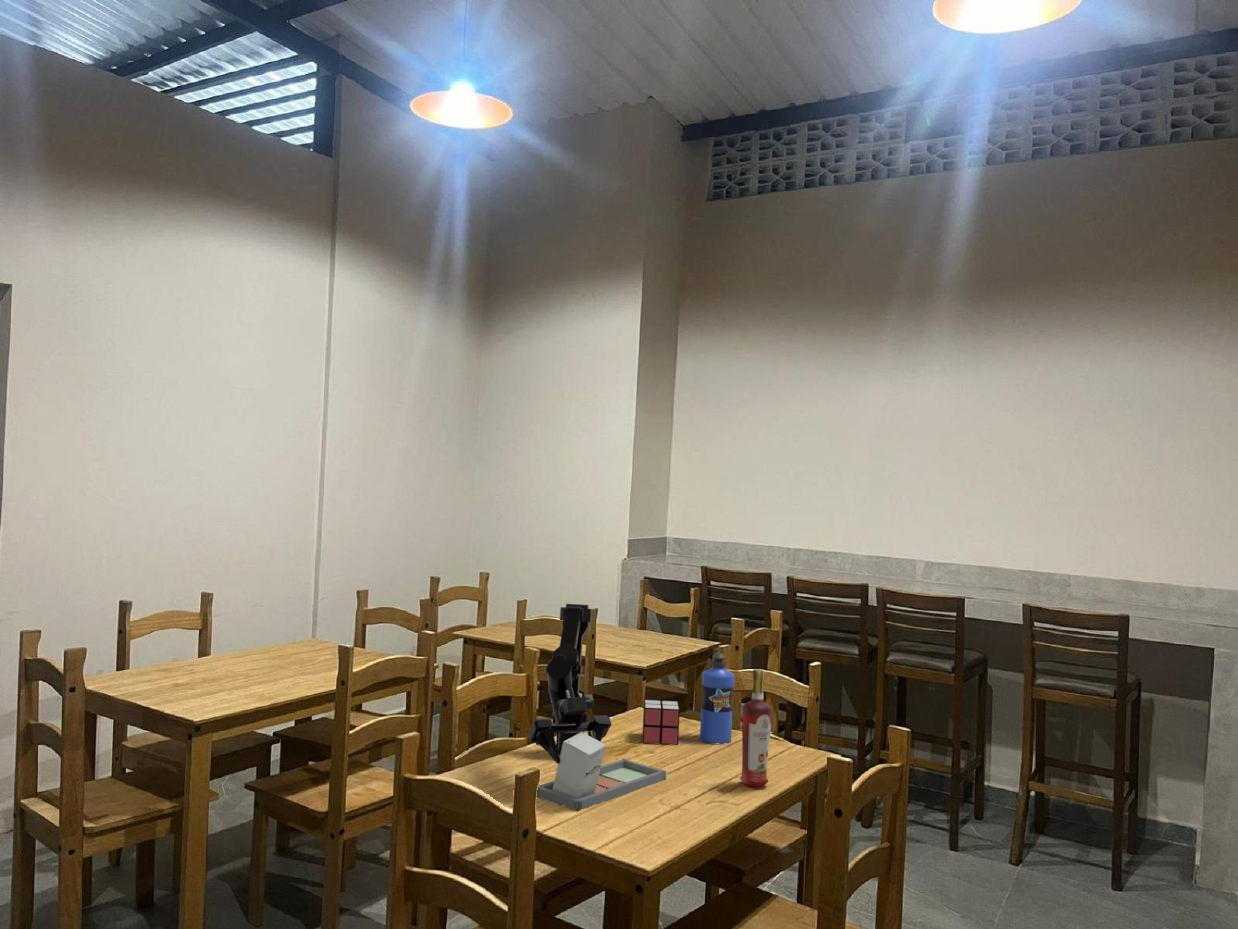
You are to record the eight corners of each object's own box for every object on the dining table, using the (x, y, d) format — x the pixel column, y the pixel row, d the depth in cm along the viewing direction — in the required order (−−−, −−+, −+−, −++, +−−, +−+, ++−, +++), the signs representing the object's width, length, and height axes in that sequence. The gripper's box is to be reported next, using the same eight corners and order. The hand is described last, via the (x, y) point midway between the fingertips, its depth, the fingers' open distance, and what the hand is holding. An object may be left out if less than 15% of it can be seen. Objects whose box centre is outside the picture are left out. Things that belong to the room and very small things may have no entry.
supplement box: (577, 806, 200) (588, 755, 197) (551, 790, 203) (562, 740, 201) (595, 794, 206) (607, 744, 203) (570, 779, 210) (581, 730, 207)
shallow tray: (534, 795, 205) (534, 787, 205) (623, 766, 230) (623, 759, 230) (578, 811, 196) (578, 802, 196) (665, 779, 221) (666, 771, 221)
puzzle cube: (678, 745, 252) (679, 709, 252) (642, 743, 252) (644, 707, 252) (676, 736, 262) (678, 701, 262) (642, 734, 262) (643, 699, 262)
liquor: (759, 779, 225) (764, 666, 226) (774, 788, 218) (779, 672, 219) (733, 781, 222) (738, 667, 223) (748, 791, 215) (753, 673, 216)
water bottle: (695, 735, 263) (699, 649, 264) (726, 735, 265) (729, 650, 265) (704, 744, 254) (708, 655, 255) (735, 744, 256) (739, 656, 256)
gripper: (534, 683, 206) (548, 744, 195) (609, 681, 213) (627, 739, 202) (523, 711, 212) (535, 771, 201) (596, 708, 220) (612, 765, 209)
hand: (578, 761), depth 203 cm, fingers closed on supplement box, 9 cm apart
